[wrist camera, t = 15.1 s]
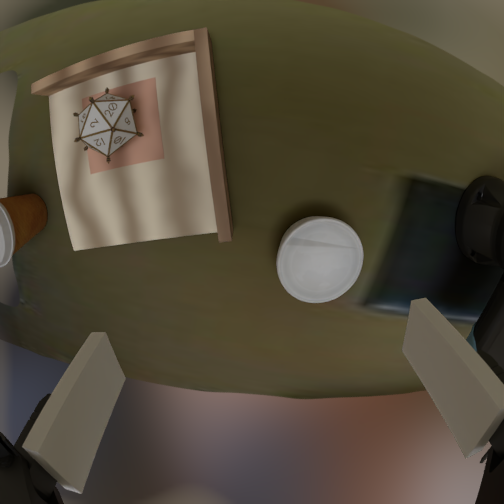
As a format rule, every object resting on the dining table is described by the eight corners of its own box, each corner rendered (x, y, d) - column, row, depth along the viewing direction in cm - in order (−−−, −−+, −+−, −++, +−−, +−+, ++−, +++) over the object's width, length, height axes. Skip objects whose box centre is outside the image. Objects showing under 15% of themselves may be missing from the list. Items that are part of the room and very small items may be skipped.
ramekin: (333, 194, 38) (346, 202, 34) (361, 263, 42) (374, 278, 37) (258, 232, 40) (260, 245, 35) (293, 297, 44) (299, 316, 39)
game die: (123, 115, 36) (96, 65, 27) (166, 131, 35) (142, 75, 25) (82, 163, 34) (44, 119, 25) (122, 186, 33) (82, 137, 23)
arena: (211, 40, 31) (206, 27, 26) (233, 228, 40) (231, 241, 35) (50, 87, 31) (31, 84, 26) (75, 249, 40) (59, 261, 35)
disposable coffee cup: (29, 171, 35) (-23, 185, 24) (64, 211, 38) (16, 236, 27) (8, 214, 38) (-39, 237, 26) (40, 252, 40) (-4, 284, 29)
